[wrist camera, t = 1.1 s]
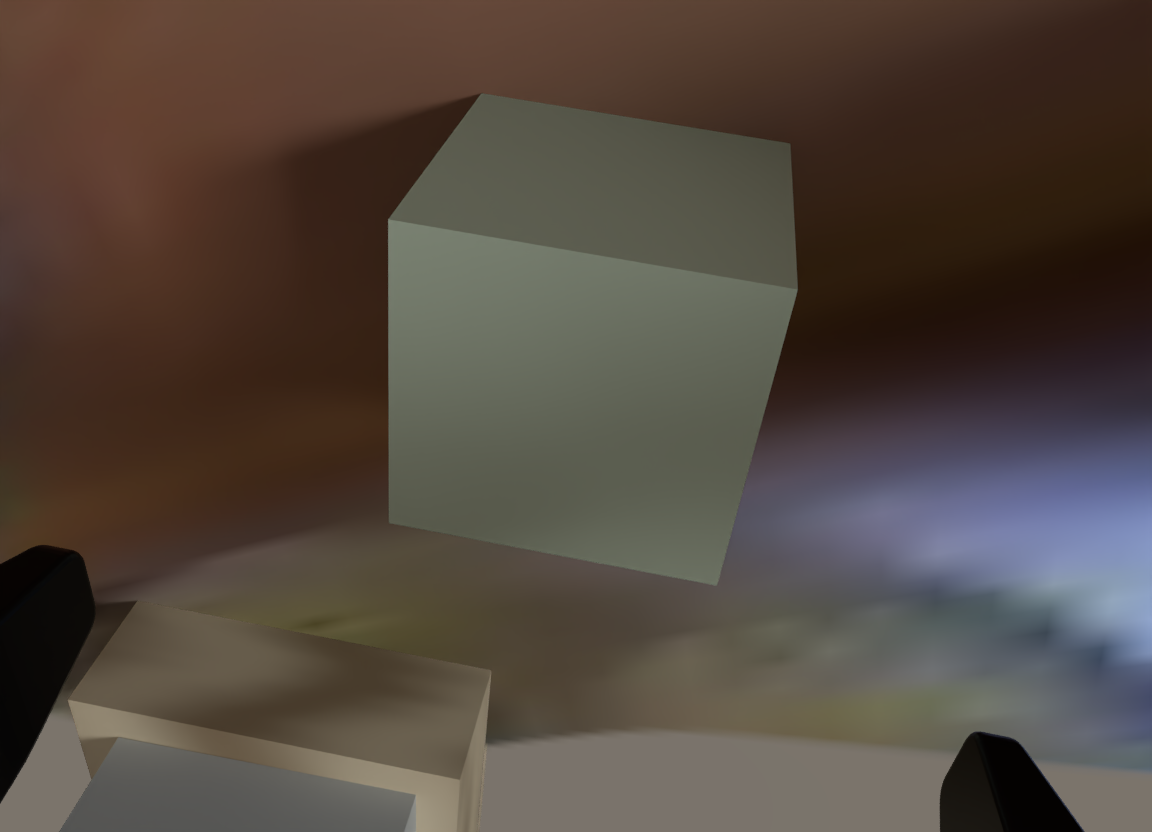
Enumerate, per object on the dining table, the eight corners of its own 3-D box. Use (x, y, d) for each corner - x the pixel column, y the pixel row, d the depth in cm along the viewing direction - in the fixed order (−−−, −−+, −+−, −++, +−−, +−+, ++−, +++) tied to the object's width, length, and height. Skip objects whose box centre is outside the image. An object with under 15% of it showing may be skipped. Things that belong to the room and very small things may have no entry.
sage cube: (790, 141, 16) (798, 289, 12) (727, 397, 19) (716, 585, 15) (482, 91, 16) (387, 219, 12) (468, 350, 19) (388, 523, 15)
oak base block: (495, 657, 25) (459, 779, 22) (477, 856, 30) (447, 975, 27) (146, 588, 25) (67, 699, 22) (189, 795, 30) (129, 906, 28)
